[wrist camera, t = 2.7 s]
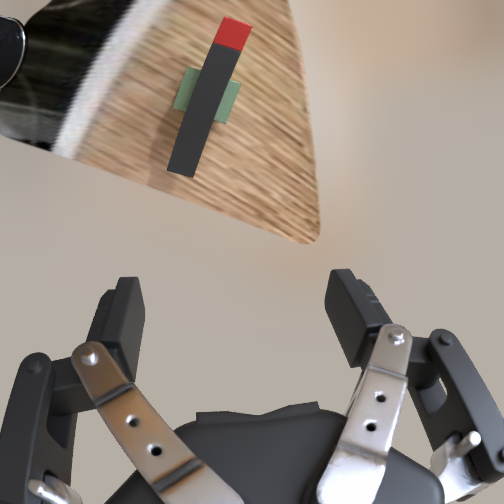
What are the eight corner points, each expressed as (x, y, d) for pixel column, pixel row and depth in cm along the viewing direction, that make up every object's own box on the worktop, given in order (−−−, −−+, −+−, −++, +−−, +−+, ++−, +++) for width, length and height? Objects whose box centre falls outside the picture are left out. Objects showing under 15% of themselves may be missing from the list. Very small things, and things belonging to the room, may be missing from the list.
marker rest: (222, 116, 31) (225, 124, 26) (177, 102, 29) (172, 108, 25) (236, 82, 29) (241, 83, 25) (190, 67, 28) (187, 66, 23)
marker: (194, 169, 28) (193, 178, 26) (169, 163, 28) (166, 170, 26) (249, 29, 22) (253, 25, 20) (222, 20, 21) (224, 16, 19)
